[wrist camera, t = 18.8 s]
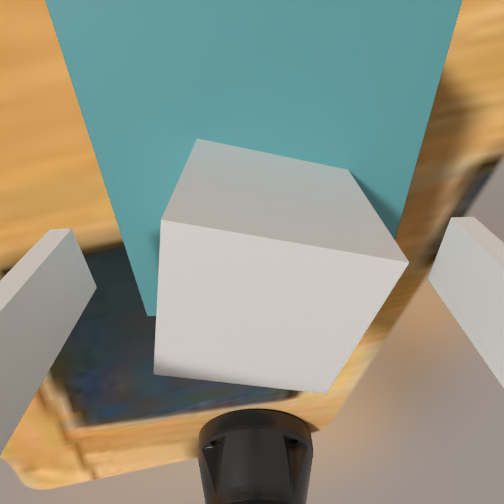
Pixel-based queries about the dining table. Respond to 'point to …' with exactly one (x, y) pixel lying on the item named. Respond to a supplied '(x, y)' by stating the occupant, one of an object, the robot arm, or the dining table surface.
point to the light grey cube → (268, 270)
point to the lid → (250, 93)
